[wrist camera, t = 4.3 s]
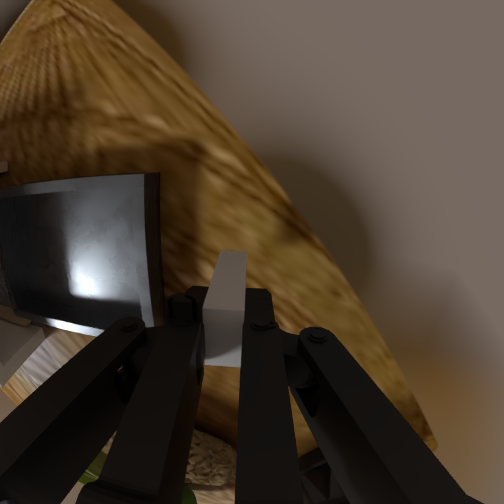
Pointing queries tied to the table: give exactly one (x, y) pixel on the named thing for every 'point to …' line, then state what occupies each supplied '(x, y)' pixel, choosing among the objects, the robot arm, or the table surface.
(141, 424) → the robot arm
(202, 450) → the sponge
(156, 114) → the table surface
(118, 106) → the table surface
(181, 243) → the table surface
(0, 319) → the white box
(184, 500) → the avocado
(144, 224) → the tray
